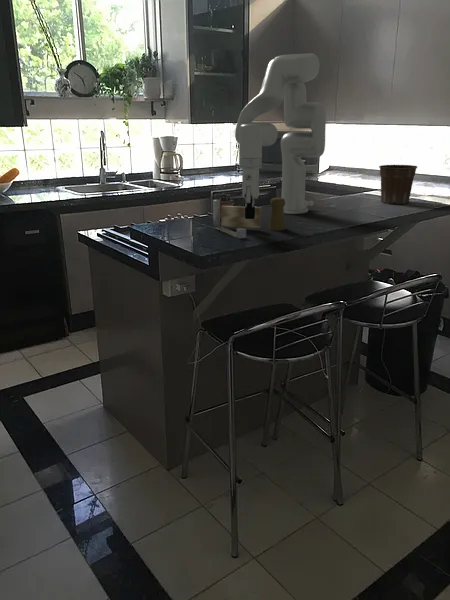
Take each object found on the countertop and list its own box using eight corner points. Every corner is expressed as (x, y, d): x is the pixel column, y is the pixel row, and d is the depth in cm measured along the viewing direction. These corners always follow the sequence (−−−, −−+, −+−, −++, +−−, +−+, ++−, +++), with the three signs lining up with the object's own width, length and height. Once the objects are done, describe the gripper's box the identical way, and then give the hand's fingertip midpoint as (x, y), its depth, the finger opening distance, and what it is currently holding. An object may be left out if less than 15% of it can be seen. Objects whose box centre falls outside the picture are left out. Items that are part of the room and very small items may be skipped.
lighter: (233, 218, 201) (233, 192, 197) (233, 220, 198) (233, 194, 194) (212, 219, 201) (212, 193, 197) (212, 220, 197) (212, 194, 194)
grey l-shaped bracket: (212, 227, 186) (211, 199, 182) (218, 226, 187) (217, 199, 183) (239, 238, 169) (240, 208, 166) (246, 237, 170) (246, 207, 167)
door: (221, 225, 184) (221, 206, 181) (223, 224, 186) (223, 204, 184) (259, 228, 180) (259, 208, 178) (261, 226, 183) (261, 206, 180)
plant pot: (368, 202, 235) (371, 165, 230) (390, 198, 244) (393, 163, 239) (398, 206, 223) (402, 168, 217) (420, 202, 232) (425, 166, 226)
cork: (264, 228, 183) (265, 197, 180) (275, 226, 187) (276, 195, 184) (277, 231, 179) (278, 199, 176) (288, 228, 183) (290, 197, 180)
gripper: (259, 165, 162) (258, 223, 168) (263, 161, 176) (262, 214, 182) (236, 165, 163) (236, 222, 169) (241, 161, 177) (241, 214, 183)
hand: (249, 218), depth 176 cm, fingers closed
